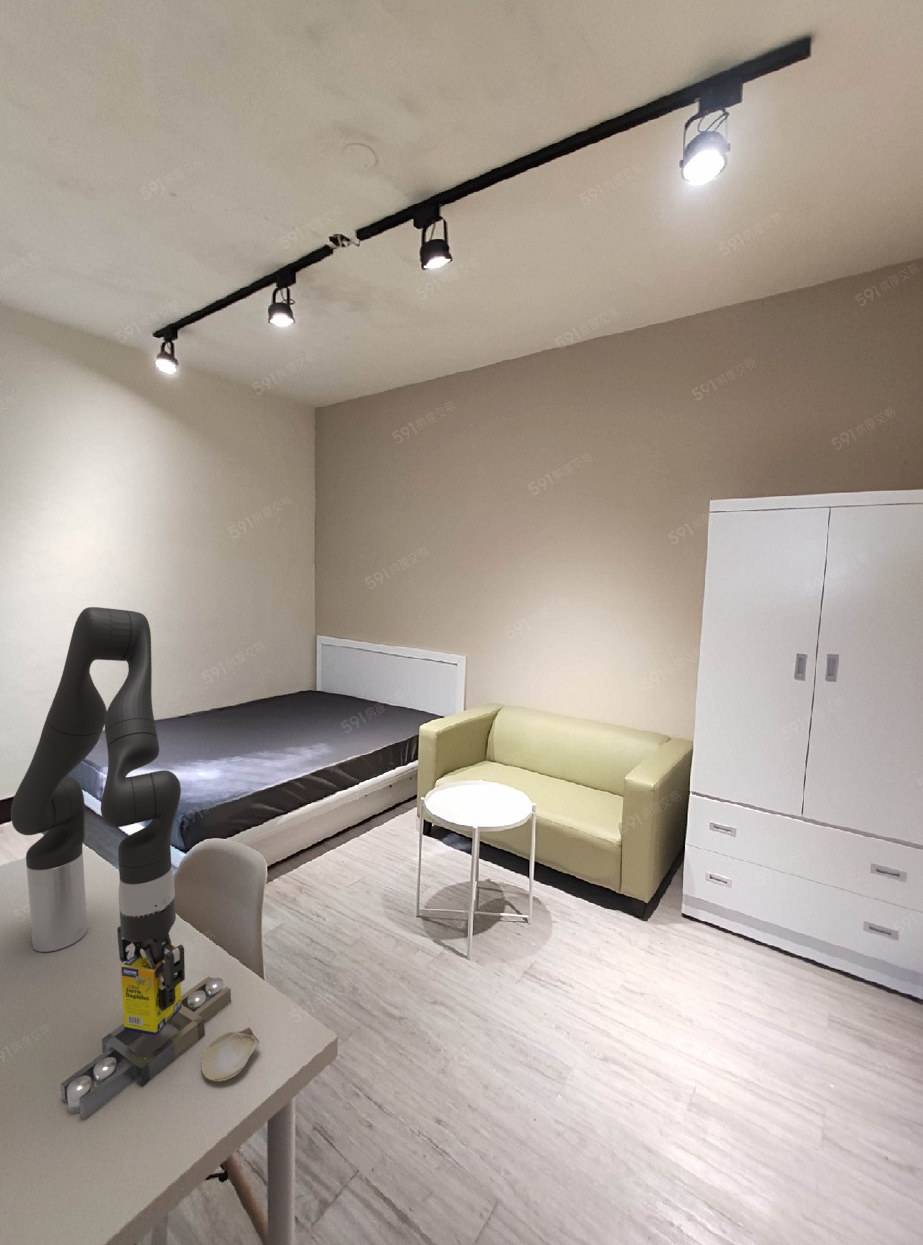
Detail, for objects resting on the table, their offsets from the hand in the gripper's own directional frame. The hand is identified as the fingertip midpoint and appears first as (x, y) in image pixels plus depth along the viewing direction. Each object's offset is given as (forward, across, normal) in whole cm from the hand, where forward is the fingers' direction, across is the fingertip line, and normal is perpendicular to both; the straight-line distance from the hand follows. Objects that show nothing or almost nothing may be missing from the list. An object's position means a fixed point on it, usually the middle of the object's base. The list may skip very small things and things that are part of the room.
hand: (153, 996), depth 87 cm
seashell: (+9, +13, +4) cm, 16 cm away
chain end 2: (+8, 0, +6) cm, 10 cm away
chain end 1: (+8, 0, -6) cm, 10 cm away
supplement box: (+4, 0, 0) cm, 4 cm away
